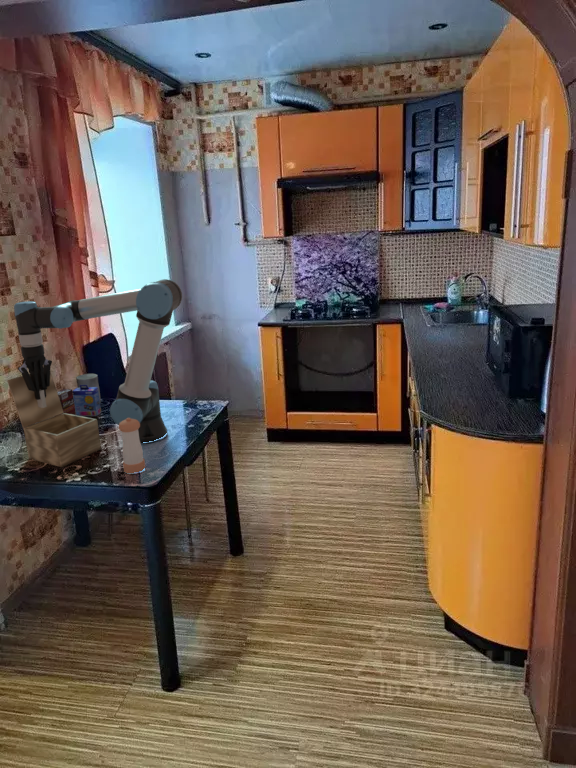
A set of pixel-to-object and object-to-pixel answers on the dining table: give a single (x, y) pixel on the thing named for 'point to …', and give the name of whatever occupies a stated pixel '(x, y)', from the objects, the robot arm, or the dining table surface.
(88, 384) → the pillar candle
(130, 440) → the salt shaker
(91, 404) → the ink cartridge box
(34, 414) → the lid flap
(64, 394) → the supplement box
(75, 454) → the wooden box
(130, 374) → the robot arm
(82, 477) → the dining table surface
